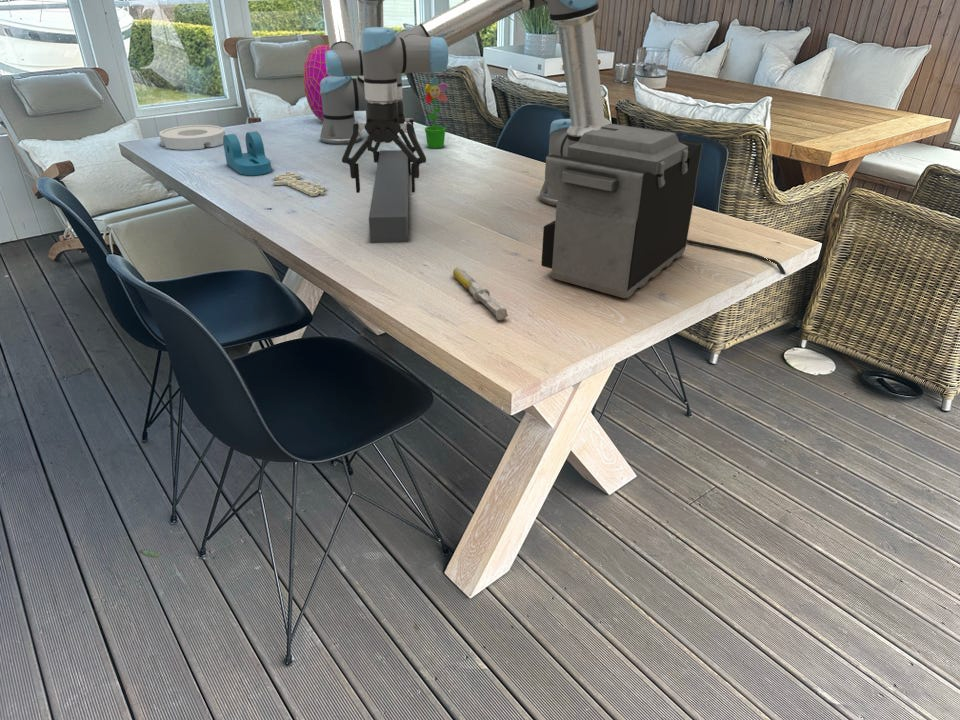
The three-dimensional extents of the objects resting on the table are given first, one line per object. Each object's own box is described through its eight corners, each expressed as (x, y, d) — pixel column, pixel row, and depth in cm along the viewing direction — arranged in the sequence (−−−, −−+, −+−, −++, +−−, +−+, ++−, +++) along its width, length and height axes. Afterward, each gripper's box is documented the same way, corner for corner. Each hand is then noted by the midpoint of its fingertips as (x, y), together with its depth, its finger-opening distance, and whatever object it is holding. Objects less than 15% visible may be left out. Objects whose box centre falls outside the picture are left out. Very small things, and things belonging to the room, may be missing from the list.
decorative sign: (262, 176, 218) (290, 170, 223) (262, 179, 218) (291, 173, 224) (303, 195, 201) (333, 189, 206) (303, 198, 201) (333, 192, 207)
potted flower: (429, 149, 253) (427, 77, 241) (420, 145, 259) (418, 74, 247) (452, 147, 257) (451, 75, 245) (443, 142, 263) (442, 72, 250)
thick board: (407, 241, 173) (406, 216, 169) (370, 242, 172) (368, 217, 169) (408, 169, 230) (407, 150, 227) (381, 170, 230) (379, 150, 226)
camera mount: (227, 164, 233) (221, 132, 227) (257, 160, 238) (252, 129, 233) (244, 176, 220) (239, 143, 215) (276, 172, 225) (271, 139, 220)
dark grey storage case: (608, 233, 179) (621, 113, 163) (689, 253, 168) (712, 126, 152) (533, 279, 153) (540, 141, 138) (624, 305, 142) (643, 159, 127)
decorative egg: (337, 115, 306) (331, 41, 291) (362, 122, 294) (356, 45, 279) (299, 120, 295) (290, 44, 280) (323, 128, 283) (315, 49, 267)
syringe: (449, 274, 155) (449, 263, 153) (465, 272, 156) (464, 260, 154) (490, 323, 135) (491, 310, 133) (508, 319, 136) (508, 307, 134)
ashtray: (176, 134, 270) (174, 124, 268) (235, 135, 269) (233, 125, 267) (150, 149, 250) (147, 137, 248) (213, 150, 249) (211, 139, 247)
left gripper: (425, 98, 218) (427, 168, 230) (356, 98, 217) (361, 169, 228) (426, 102, 212) (428, 174, 223) (354, 102, 210) (360, 175, 222)
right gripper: (434, 98, 164) (435, 186, 175) (328, 97, 162) (336, 186, 173) (435, 104, 158) (436, 195, 168) (325, 103, 156) (333, 195, 166)
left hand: (394, 172), depth 226 cm, fingers closed on thick board, 9 cm apart
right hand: (385, 191), depth 171 cm, fingers open, 13 cm apart
